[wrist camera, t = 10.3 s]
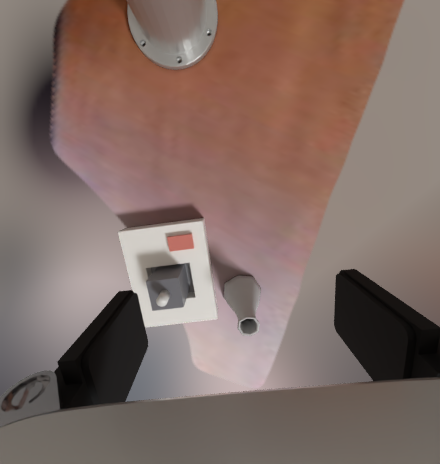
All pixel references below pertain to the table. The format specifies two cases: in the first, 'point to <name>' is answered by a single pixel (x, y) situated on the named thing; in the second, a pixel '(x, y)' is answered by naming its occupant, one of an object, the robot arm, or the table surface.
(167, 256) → the socket plate
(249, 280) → the flask
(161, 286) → the plug
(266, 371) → the table surface
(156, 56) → the robot arm
